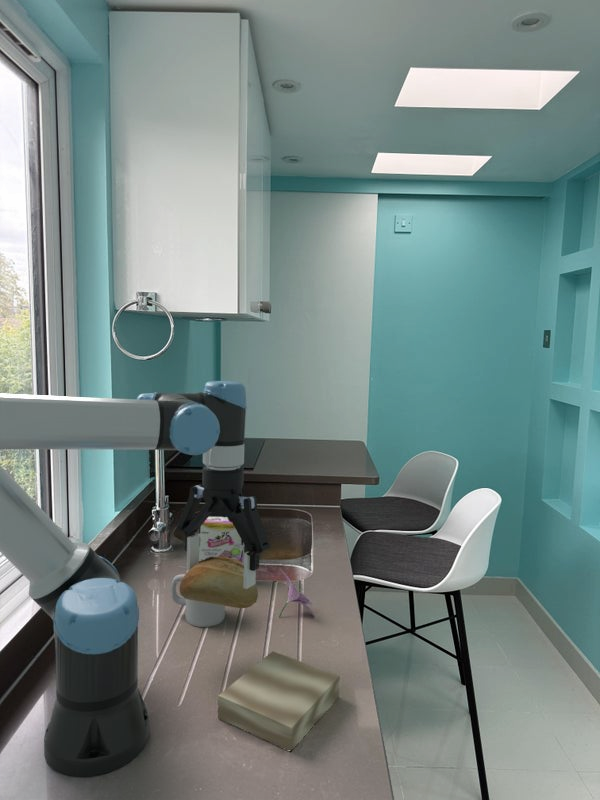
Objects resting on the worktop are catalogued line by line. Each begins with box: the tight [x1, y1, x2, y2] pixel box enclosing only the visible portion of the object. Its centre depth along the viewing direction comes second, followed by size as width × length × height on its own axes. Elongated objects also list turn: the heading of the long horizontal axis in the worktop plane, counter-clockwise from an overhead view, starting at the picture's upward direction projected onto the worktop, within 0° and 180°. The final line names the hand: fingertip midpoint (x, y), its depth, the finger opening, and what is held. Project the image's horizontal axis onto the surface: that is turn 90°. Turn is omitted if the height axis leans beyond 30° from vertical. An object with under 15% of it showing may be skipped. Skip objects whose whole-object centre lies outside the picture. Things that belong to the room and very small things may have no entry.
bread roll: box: [179, 557, 259, 609], centre depth 109 cm, size 10×15×8 cm, turn 83°
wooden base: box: [217, 650, 341, 751], centre depth 98 cm, size 16×14×4 cm
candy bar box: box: [198, 515, 245, 563], centre depth 145 cm, size 11×5×16 cm, turn 91°
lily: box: [278, 567, 315, 619], centre depth 130 cm, size 12×12×10 cm
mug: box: [170, 569, 226, 628], centre depth 127 cm, size 12×8×11 cm
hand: (220, 577), depth 109 cm, fingers closed on bread roll, 13 cm apart
